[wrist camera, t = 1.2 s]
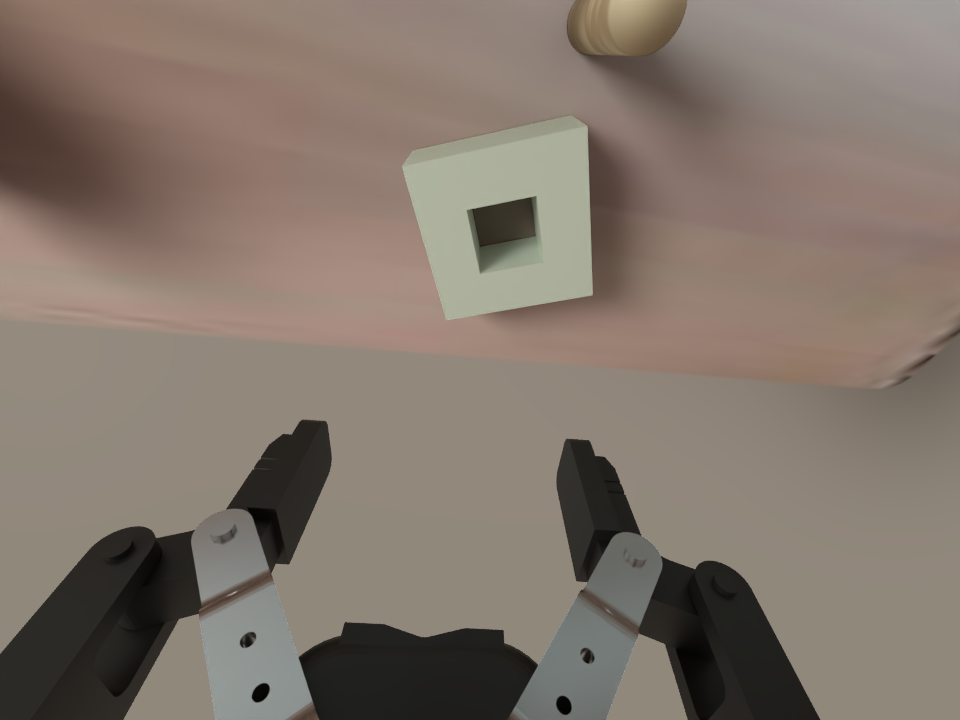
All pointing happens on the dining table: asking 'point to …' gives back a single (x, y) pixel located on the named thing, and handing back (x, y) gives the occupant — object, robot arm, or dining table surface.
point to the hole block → (497, 179)
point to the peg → (623, 25)
